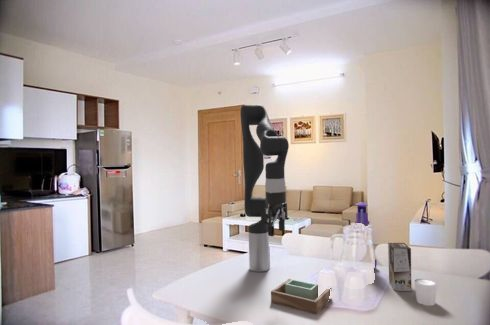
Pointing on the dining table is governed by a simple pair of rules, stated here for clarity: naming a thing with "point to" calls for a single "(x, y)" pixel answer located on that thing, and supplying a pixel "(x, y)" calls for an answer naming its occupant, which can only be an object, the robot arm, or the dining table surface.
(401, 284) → the coffee box
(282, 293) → the walnut crate
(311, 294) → the sage crate
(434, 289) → the white cup
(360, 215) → the lantern
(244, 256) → the dining table surface
